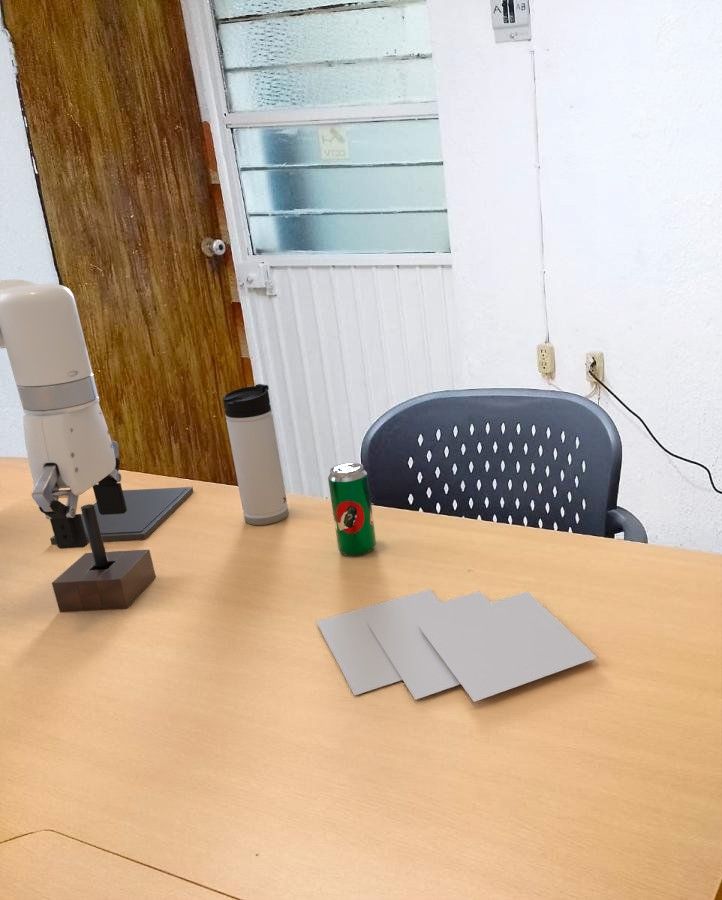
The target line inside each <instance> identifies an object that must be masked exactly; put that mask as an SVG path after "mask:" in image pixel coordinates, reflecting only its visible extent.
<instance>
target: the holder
mask: <svg viewBox="0 0 722 900" xmlns="http://www.w3.org/2000/svg"><path fill="white" fill-rule="evenodd" d="M106 555H107V559H108V563H109V568H108V569H104V570H96V566H95V562H94V558H93V554H92V552H85V553H84V554H83V555H81V556H80V557H79V558H78V559H77V560H76V561H74V563H72V564H71V565H70V566H68V568H66V570H64V571H63V572H62V573H61V574H60V575H59V576H58V577H57V578H56V579H54V580H53V581H52V582H51V586H52V590H53V593H54V597H55V601H56V604H57V607H58V611H59V612H60V613H65V612H67V613H68V612H83V611H84V612H85V611H100V610H101V611H103V610H120V609H128V608H129V607H130V606H131V605H132V604H133V603H134V602H135V601H136V600H137V598H138V597H139V596H140V595H141V594H142V593H143V592H144V591H145V589H147V587H148V586H149V585H150V584H151V583H152V582H153V581H154V579H156V577H157V576H156V572H155V568H154V563H153V559H152V554H151V550H150V549H132V550H115V551H114V550H112V551H106Z"/></svg>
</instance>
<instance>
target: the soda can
mask: <svg viewBox="0 0 722 900" xmlns="http://www.w3.org/2000/svg"><path fill="white" fill-rule="evenodd" d="M368 476H369V475H368V472H367V471H366V469H365V468H364V465H363V464H362V463H358V462H345V463H340V464H336V465H333V467H331V468H330V469H329V475H328V478H327V481H328V487H329V494H330V501H331V502H330V503H331V508H332V515H333V521H334V528H335V537H336V542H337V548H338V551H339V552H340V553H341V554H343V555H345V556H347V557H348V556H349V557H356V556H363V555H366V554H368V553H370V552H372V551H373V550H374V548H375V546H376V545H377V538H376V537H377V536H376V530H375V523H374V515H373V507H372V500H371V491H370V485H369V477H368Z"/></svg>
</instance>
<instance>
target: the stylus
mask: <svg viewBox="0 0 722 900" xmlns="http://www.w3.org/2000/svg"><path fill="white" fill-rule="evenodd" d="M80 510H81V514H82V515H83V519H84V523H85V527H86V531H87V535H88V538H89V542H88V543H89V546H90V550H91V553H92V554H93V558H94V562H95V566H96V570H104V569H108V568H109V563H108V559H107V555H106V552H107V551H106V547H105V542H103V539H102V535H101V531H100V527H99V523H98V519H97V515H96V511H95V507H94V504H93V503H90V504H89V503H88V504H85V505H82V506H81V507H80Z"/></svg>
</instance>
